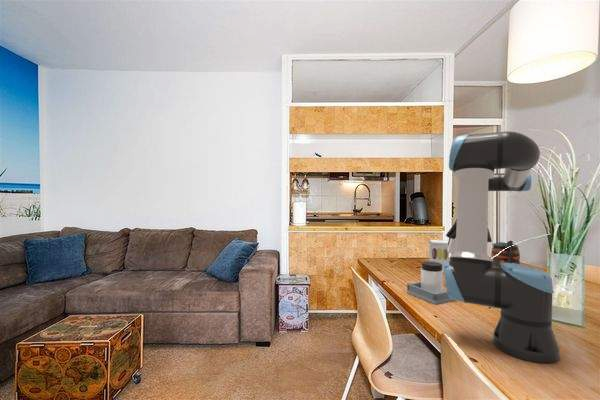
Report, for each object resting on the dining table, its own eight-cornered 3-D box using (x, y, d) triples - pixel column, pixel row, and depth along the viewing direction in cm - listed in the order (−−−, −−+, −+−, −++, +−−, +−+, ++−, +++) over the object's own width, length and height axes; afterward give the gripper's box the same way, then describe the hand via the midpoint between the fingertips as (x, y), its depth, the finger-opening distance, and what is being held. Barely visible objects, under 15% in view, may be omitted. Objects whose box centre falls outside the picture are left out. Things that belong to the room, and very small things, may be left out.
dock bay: (459, 299, 126) (459, 289, 126) (435, 304, 120) (435, 294, 120) (430, 288, 140) (430, 280, 140) (407, 293, 134) (407, 284, 134)
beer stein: (530, 282, 151) (531, 242, 151) (497, 279, 155) (498, 240, 155) (515, 272, 169) (515, 236, 169) (485, 270, 173) (486, 235, 173)
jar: (431, 295, 127) (432, 266, 126) (416, 289, 134) (416, 262, 134) (446, 292, 131) (447, 264, 130) (431, 286, 138) (431, 260, 138)
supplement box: (430, 271, 170) (430, 241, 169) (428, 267, 179) (428, 239, 178) (449, 273, 167) (449, 242, 167) (446, 269, 176) (446, 240, 175)
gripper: (507, 213, 130) (496, 261, 126) (454, 212, 152) (444, 253, 148) (497, 207, 127) (486, 256, 123) (445, 207, 149) (434, 248, 145)
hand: (463, 254), depth 136 cm, fingers open, 13 cm apart
